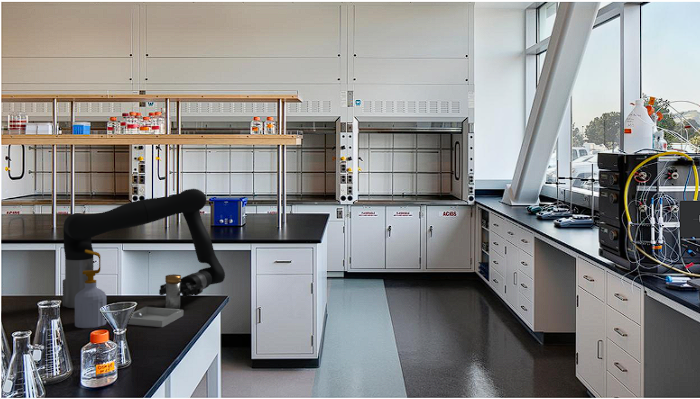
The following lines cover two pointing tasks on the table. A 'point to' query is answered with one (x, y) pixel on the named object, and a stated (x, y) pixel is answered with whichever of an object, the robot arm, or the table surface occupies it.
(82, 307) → the soap bottle
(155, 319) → the tray
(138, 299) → the table surface
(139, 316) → the ball
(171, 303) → the shaker
